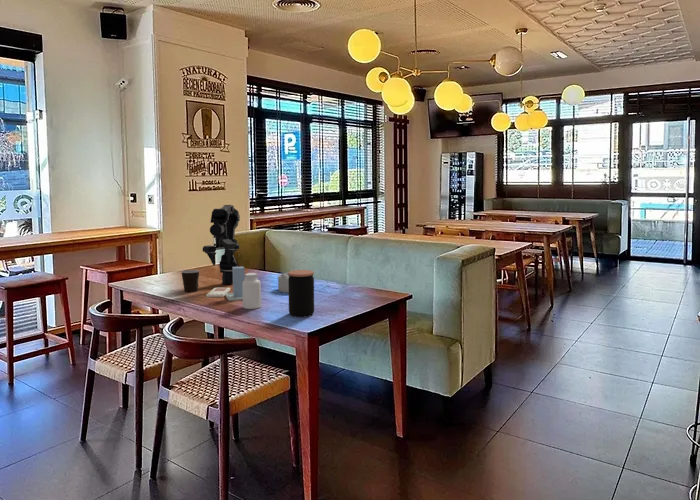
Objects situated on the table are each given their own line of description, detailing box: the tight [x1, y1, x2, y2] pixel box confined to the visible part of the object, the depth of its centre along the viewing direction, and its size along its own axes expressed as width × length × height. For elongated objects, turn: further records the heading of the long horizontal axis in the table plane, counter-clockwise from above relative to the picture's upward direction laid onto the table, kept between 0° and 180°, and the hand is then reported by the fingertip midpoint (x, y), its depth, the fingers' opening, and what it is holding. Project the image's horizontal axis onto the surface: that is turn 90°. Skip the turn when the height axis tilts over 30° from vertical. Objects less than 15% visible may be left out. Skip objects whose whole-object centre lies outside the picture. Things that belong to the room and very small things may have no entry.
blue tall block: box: [232, 265, 246, 298], centre depth 264 cm, size 5×5×14 cm
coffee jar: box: [287, 269, 315, 318], centre depth 234 cm, size 11×11×18 cm
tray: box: [224, 292, 243, 302], centre depth 265 cm, size 12×12×1 cm
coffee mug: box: [181, 269, 200, 293], centre depth 280 cm, size 12×9×10 cm
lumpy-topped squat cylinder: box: [277, 271, 290, 294], centre depth 281 cm, size 10×13×9 cm
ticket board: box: [205, 287, 231, 298], centre depth 274 cm, size 16×8×1 cm, turn 0°
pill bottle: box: [242, 272, 262, 310], centre depth 245 cm, size 8×8×15 cm
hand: (221, 264), depth 281 cm, fingers open, 9 cm apart
